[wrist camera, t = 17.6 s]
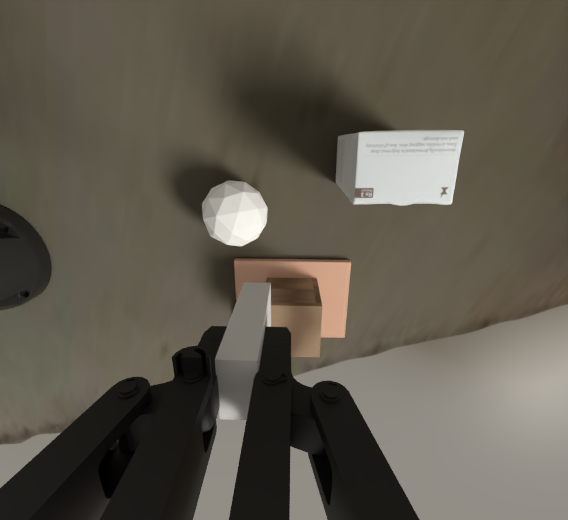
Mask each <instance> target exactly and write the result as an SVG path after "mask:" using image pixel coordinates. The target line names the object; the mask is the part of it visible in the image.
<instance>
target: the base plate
mask: <svg viewBox="0 0 568 520" xmlns="http://www.w3.org/2000/svg"><path fill="white" fill-rule="evenodd" d="M350 269H351V261H350V260H319V259H253V258H235V260H234V270H235V288H236V302H237V299H238V296H239V294H240V291H241V288H242V286H243V283H244V282H249V283H266V279H267V278H317V281H318V286H319V291H320V296H321V302H322V322H321V337H337V338H345V326H346V315H347V304H348V292H349V281H350Z"/></svg>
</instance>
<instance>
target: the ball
mask: <svg viewBox="0 0 568 520" xmlns="http://www.w3.org/2000/svg"><path fill="white" fill-rule="evenodd" d="M202 213H203V220H204V223H205V225H206V227H207V230H208V232H209V234H210V236H211V237H213V238H215V239H217V240H219V241H221V242H223V243H225V244H227V245H233V246H243V245H245V244H247V243H249V242H251V241H253V240H255V239H257V238H258V237H259V235H260V233H261V232H262V230H263V228H264V227H265V225H266V223H267V206H266V204H265V202H264V200H263V198H262V196H261V195H260V193H259V192H258V191H257V190H256V189H254V188H253V187H251V186H250V185H248V184H247V183H246V182H241V181H229V180H228V181H226V182H224V183H222V184H220V185H217V186H215V187H213V188H211V190H210V192H209V193H208V195H207V196H206V198H205V200H204V201H203V203H202Z"/></svg>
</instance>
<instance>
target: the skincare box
mask: <svg viewBox="0 0 568 520" xmlns="http://www.w3.org/2000/svg"><path fill="white" fill-rule="evenodd" d="M463 135H464V131H463V130H393V131H365V132H358V133H354V134H346V135H340V136H338V142H337V163H336V184H337V185H338V186H339V188H340V189H341V190H342V191H343V193H344V194H345V195H346V196H347V197H348V199H349V200H350V201H351V202H352V204H394V205H401V206H403V205H410V204H443V205H450V204H452V200H453V193H454V188H455V182H456V176H457V169H458V163H459V156H460V151H461V146H462V141H463Z"/></svg>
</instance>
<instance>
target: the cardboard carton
mask: <svg viewBox="0 0 568 520" xmlns="http://www.w3.org/2000/svg"><path fill="white" fill-rule="evenodd" d="M266 283H271V327H287V328H288V329H289V331H290V332H291V357H320V340H321V322H322V302H321V296H320V291H319V286H318V281H317V278H267V279H266Z"/></svg>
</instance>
